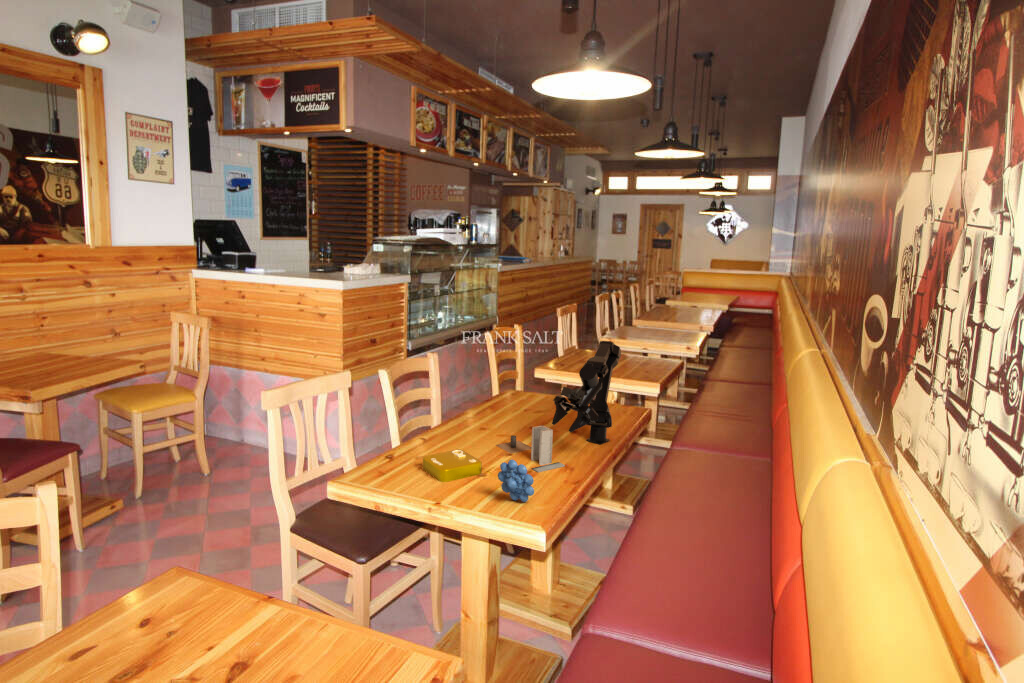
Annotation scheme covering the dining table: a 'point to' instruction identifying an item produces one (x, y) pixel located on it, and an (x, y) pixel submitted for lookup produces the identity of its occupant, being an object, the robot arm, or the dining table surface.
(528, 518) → the dining table surface
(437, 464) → the element tile
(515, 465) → the blue ball cluster
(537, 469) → the slate mat
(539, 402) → the dining table surface
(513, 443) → the walnut stand
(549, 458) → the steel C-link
